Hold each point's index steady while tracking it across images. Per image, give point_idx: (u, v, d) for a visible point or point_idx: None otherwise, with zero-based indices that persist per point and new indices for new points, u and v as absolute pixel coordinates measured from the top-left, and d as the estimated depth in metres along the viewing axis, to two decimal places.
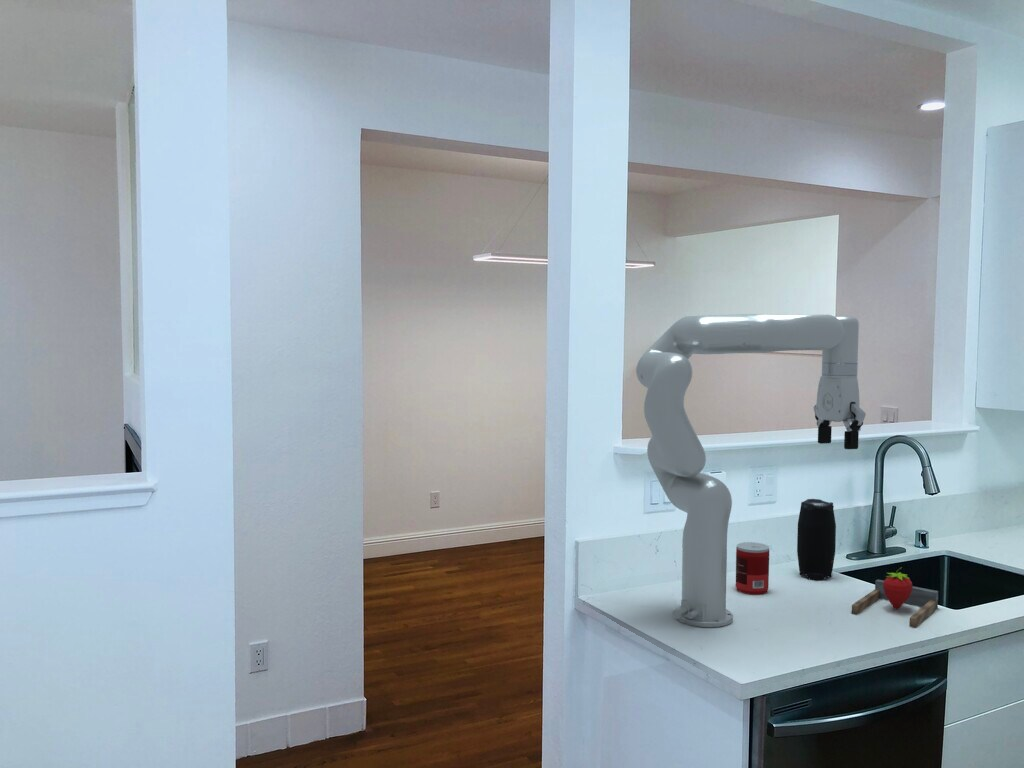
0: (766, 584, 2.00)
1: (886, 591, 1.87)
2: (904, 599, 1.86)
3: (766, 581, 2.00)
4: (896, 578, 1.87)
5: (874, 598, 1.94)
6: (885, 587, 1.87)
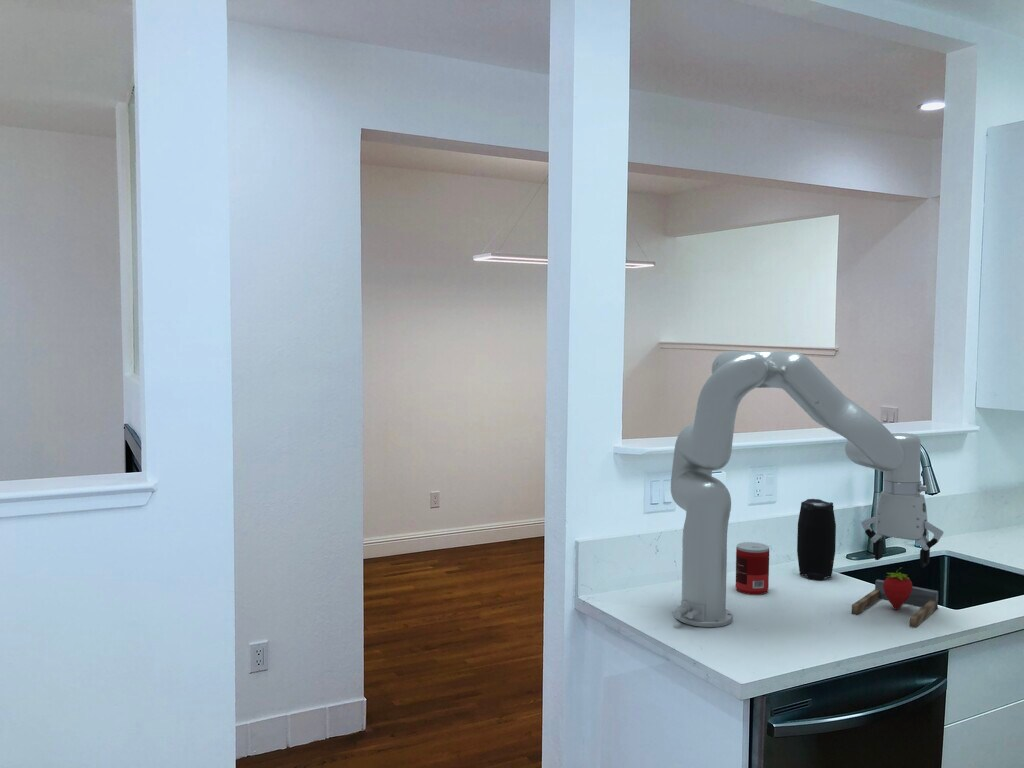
0: (766, 584, 2.00)
1: (886, 591, 1.87)
2: (904, 599, 1.86)
3: (766, 581, 2.00)
4: (896, 578, 1.87)
5: (874, 598, 1.94)
6: (885, 587, 1.87)
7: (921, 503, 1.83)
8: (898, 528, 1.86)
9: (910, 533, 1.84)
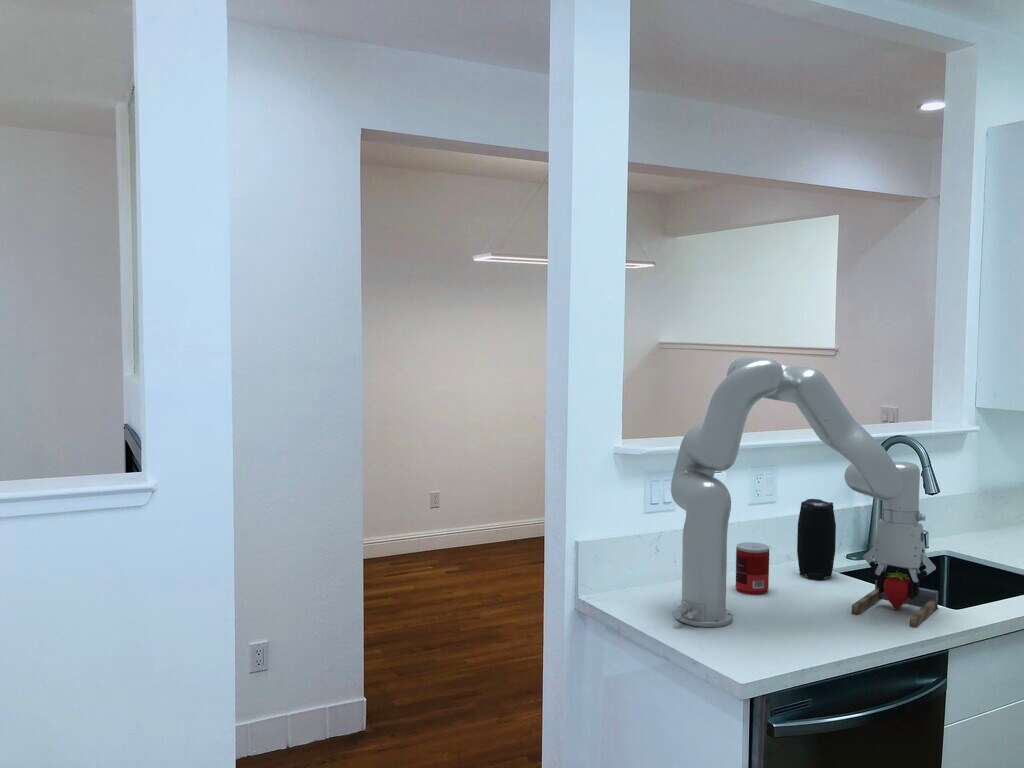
0: (766, 584, 2.00)
1: (886, 591, 1.87)
2: (904, 599, 1.86)
3: (766, 581, 2.00)
4: (896, 578, 1.87)
5: (874, 598, 1.94)
6: (885, 587, 1.87)
7: (919, 532, 1.84)
8: (895, 556, 1.86)
9: (907, 562, 1.85)
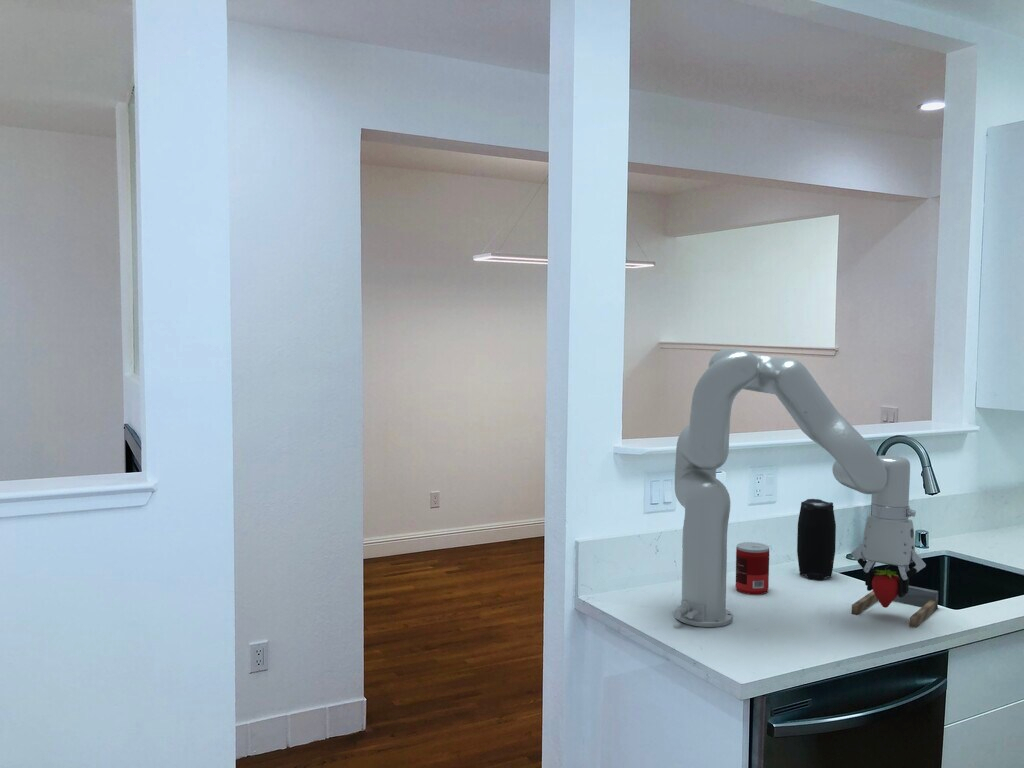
0: (766, 584, 2.00)
1: (875, 589, 1.82)
2: (893, 597, 1.81)
3: (766, 581, 2.00)
4: (885, 575, 1.82)
5: (874, 598, 1.94)
6: (874, 585, 1.82)
7: (909, 528, 1.78)
8: (884, 553, 1.81)
9: (896, 559, 1.79)
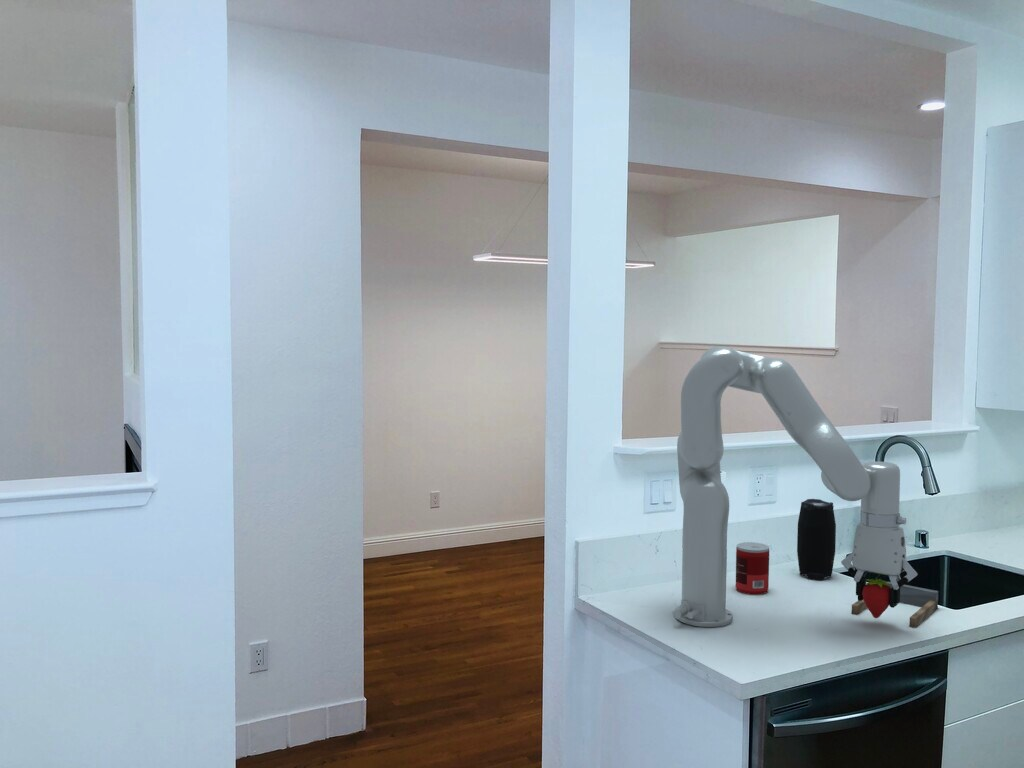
0: (766, 584, 2.00)
1: (865, 599, 1.77)
2: (884, 607, 1.76)
3: (766, 581, 2.00)
4: (876, 585, 1.77)
5: None
6: (864, 595, 1.77)
7: (899, 537, 1.73)
8: (875, 562, 1.76)
9: (887, 568, 1.74)
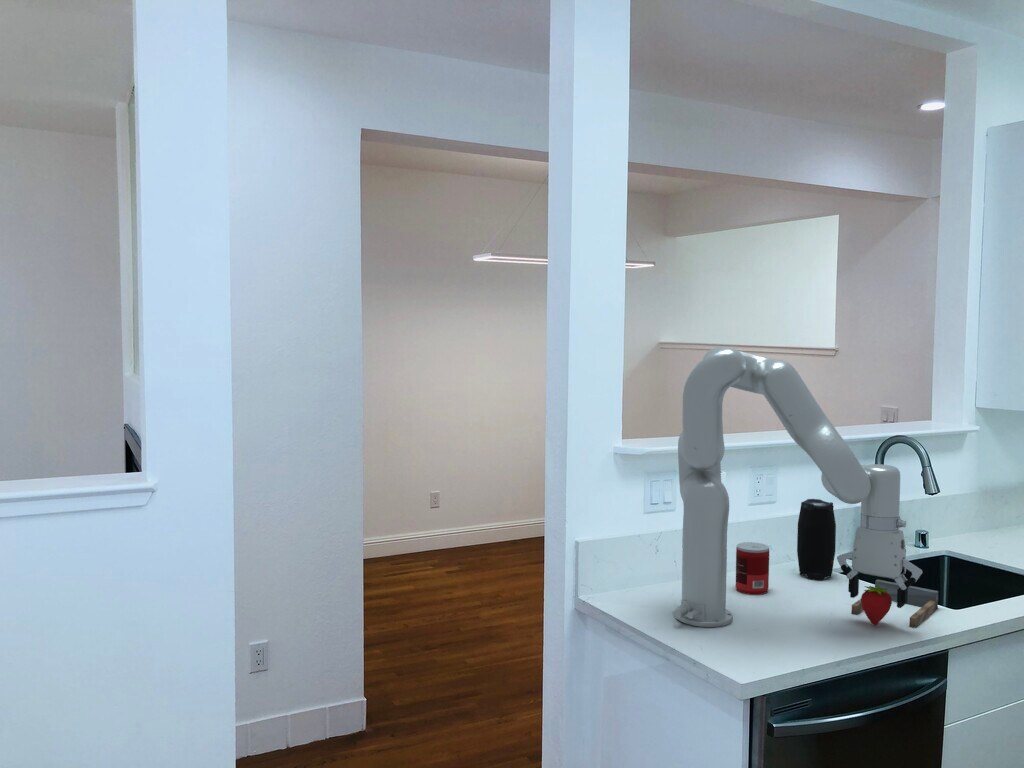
0: (766, 584, 2.00)
1: (864, 606, 1.77)
2: (883, 615, 1.76)
3: (766, 581, 2.00)
4: (874, 592, 1.77)
5: None
6: (863, 602, 1.77)
7: (899, 540, 1.73)
8: (875, 565, 1.76)
9: (887, 571, 1.74)
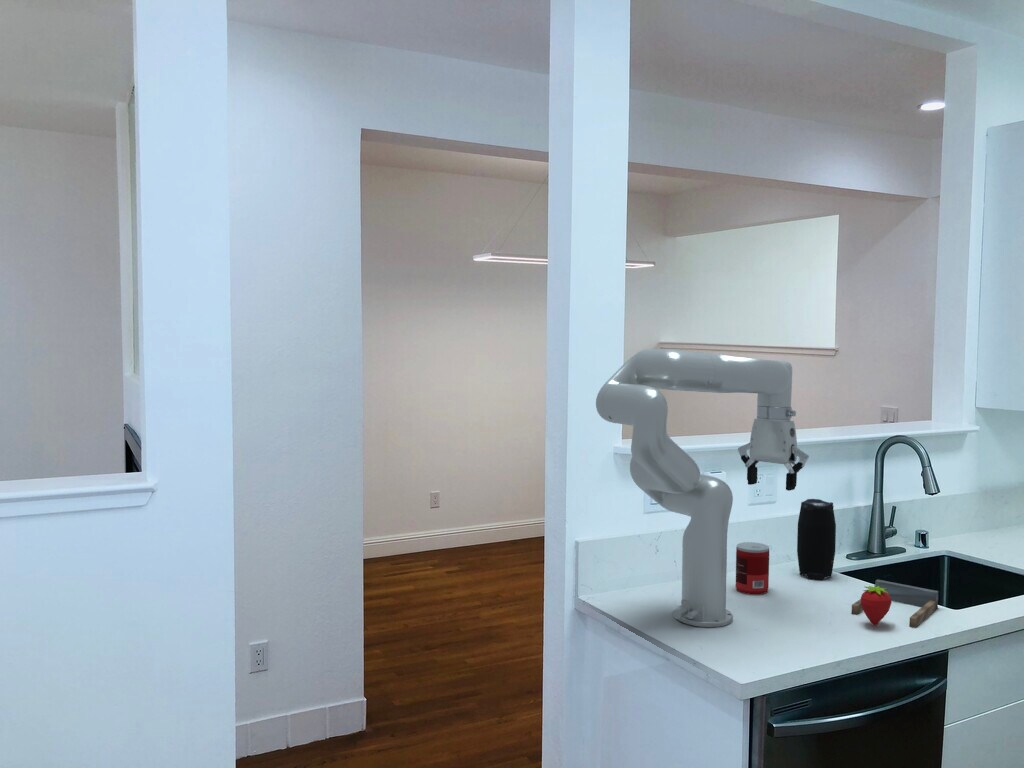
0: (766, 584, 2.00)
1: (863, 606, 1.77)
2: (882, 615, 1.76)
3: (766, 581, 2.00)
4: (874, 592, 1.77)
5: None
6: (862, 602, 1.77)
7: (789, 427, 1.89)
8: (767, 452, 1.91)
9: (777, 457, 1.90)
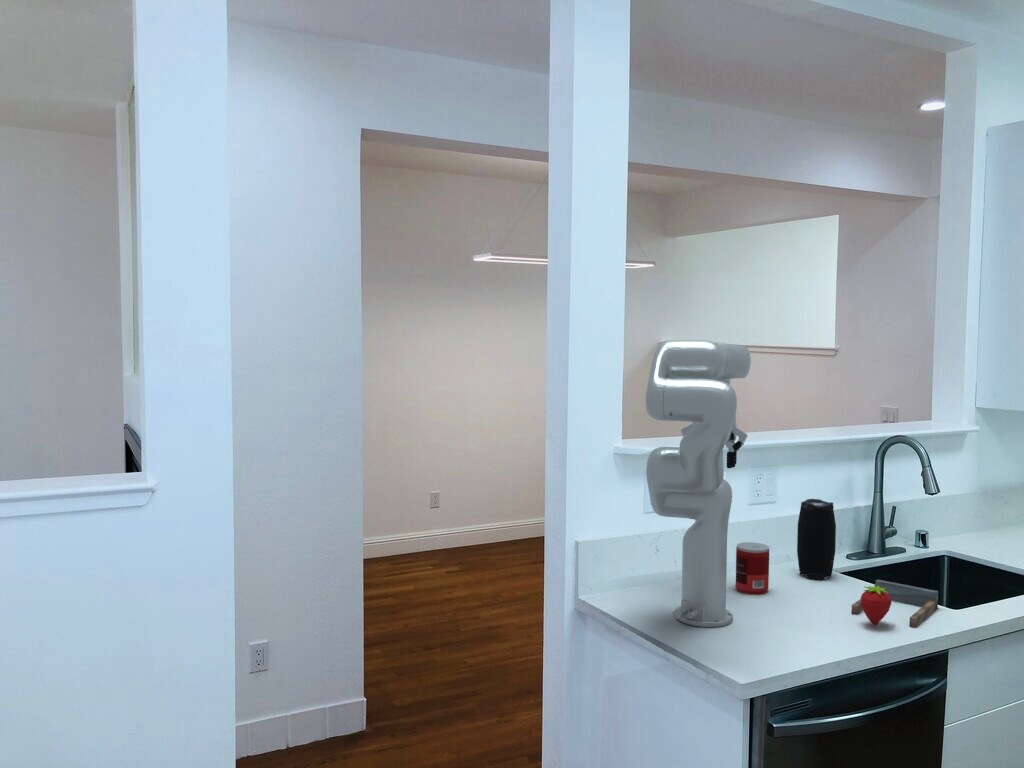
0: (766, 584, 2.00)
1: (863, 606, 1.77)
2: (882, 615, 1.76)
3: (766, 581, 2.00)
4: (874, 592, 1.77)
5: None
6: (862, 602, 1.77)
7: None
8: None
9: None
